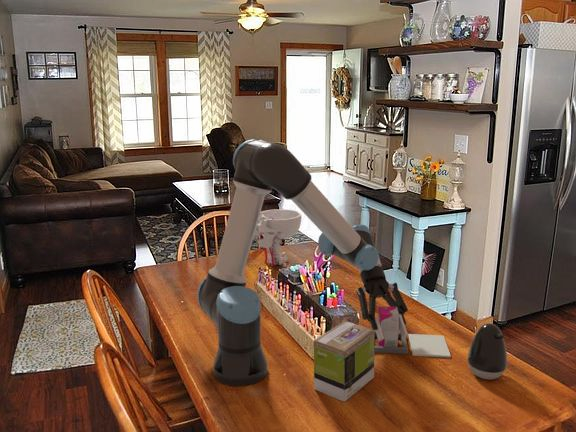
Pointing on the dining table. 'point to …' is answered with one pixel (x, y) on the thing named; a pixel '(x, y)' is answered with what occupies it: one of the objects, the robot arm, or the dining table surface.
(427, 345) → the white flat square tile
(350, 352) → the tea box
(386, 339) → the supplement box
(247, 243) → the robot arm
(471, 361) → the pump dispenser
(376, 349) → the socket frame
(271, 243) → the white sculpted pedestal bowl
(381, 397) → the dining table surface
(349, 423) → the dining table surface
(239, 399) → the dining table surface
